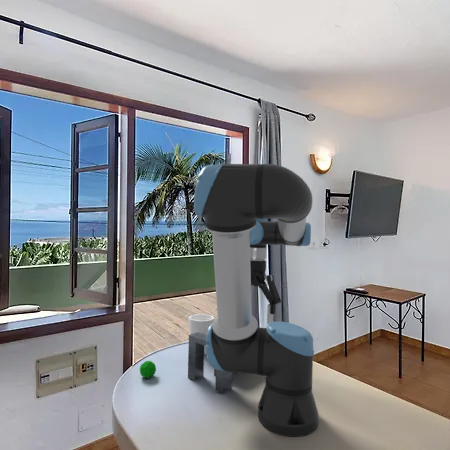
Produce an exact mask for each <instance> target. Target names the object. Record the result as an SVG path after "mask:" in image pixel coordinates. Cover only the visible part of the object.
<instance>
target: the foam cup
mask: <svg viewBox="0 0 450 450" xmlns="http://www.w3.org/2000/svg"><path fill="white" fill-rule="evenodd" d="M214 319H215V316H213V315H211V314H207V313H196V314H192V315H190V316H188V325H189V326H188V327H189V333H190V334H189V335H191V334H194V333H197V332H199V333H202V334H205V335H207V331H208V328H209V326H210V325H211V324H213V321H214ZM204 354H205V355H207V354H206V346H204Z"/></svg>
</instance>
